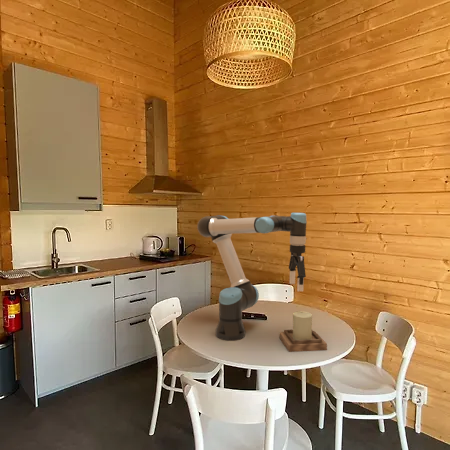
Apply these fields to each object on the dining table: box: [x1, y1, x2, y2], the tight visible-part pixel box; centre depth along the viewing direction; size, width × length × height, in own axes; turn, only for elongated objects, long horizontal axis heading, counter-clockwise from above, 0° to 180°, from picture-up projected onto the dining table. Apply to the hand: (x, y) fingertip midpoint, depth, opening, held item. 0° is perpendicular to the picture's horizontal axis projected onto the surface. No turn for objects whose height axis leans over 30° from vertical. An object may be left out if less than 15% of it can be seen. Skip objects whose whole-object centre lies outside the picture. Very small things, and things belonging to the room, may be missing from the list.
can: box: [292, 310, 313, 340], centre depth 166 cm, size 9×9×12 cm
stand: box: [279, 329, 328, 353], centre depth 167 cm, size 18×16×4 cm
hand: (296, 287), depth 170 cm, fingers open, 13 cm apart
